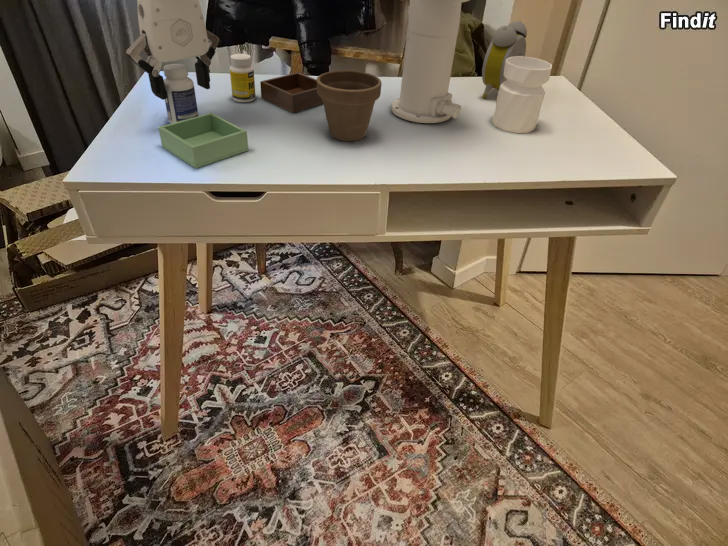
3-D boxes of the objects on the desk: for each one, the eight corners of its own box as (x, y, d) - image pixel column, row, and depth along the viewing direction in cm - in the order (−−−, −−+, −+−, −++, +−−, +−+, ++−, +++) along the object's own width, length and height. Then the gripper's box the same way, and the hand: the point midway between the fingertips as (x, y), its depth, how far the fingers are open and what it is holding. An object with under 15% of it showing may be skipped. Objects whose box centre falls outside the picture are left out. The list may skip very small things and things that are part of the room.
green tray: (248, 150, 85) (246, 130, 83) (195, 168, 79) (192, 147, 77) (214, 131, 90) (211, 112, 88) (162, 146, 84) (158, 126, 82)
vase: (522, 137, 97) (539, 73, 89) (483, 123, 101) (497, 61, 94) (542, 125, 102) (561, 64, 94) (505, 112, 106) (519, 53, 99)
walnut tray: (330, 101, 105) (330, 84, 103) (293, 113, 99) (292, 95, 97) (298, 88, 110) (298, 72, 108) (261, 98, 104) (260, 81, 102)
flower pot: (316, 121, 97) (316, 67, 90) (374, 122, 98) (378, 69, 91) (316, 146, 88) (316, 89, 81) (380, 148, 89) (385, 91, 83)
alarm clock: (496, 85, 120) (511, 17, 111) (523, 92, 117) (541, 23, 108) (475, 98, 112) (489, 25, 103) (503, 105, 110) (520, 32, 100)
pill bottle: (205, 118, 94) (197, 65, 88) (188, 128, 90) (179, 73, 84) (180, 113, 96) (171, 60, 90) (162, 123, 92) (152, 68, 85)
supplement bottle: (253, 103, 102) (250, 60, 96) (230, 102, 102) (225, 59, 96) (257, 95, 105) (254, 53, 100) (235, 94, 105) (231, 52, 100)
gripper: (122, -10, 72) (148, 109, 83) (225, -20, 82) (235, 88, 93) (98, -19, 76) (126, 96, 86) (199, -27, 86) (212, 77, 97)
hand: (182, 91), depth 90 cm, fingers open, 8 cm apart
